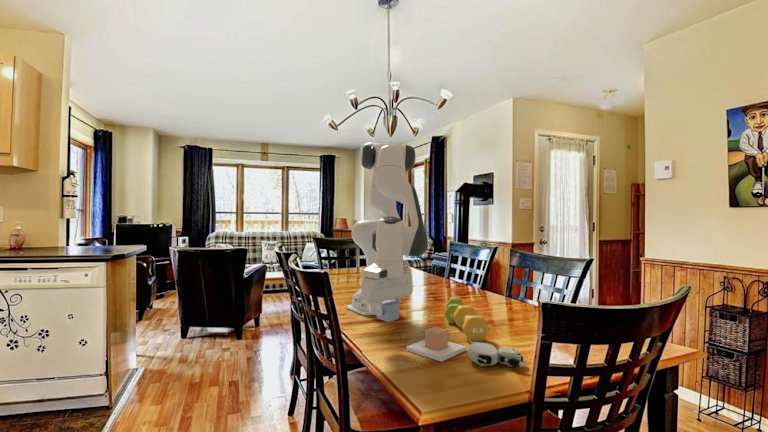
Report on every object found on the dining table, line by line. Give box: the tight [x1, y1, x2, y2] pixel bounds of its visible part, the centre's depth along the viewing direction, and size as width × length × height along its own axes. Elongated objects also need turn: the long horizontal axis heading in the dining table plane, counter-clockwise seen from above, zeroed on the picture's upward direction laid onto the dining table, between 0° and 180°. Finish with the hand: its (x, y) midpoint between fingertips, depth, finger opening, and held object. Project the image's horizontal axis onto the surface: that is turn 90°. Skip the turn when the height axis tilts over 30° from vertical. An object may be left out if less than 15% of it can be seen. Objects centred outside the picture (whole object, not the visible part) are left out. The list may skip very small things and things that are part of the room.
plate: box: [405, 339, 467, 363], centre depth 120 cm, size 13×13×1 cm
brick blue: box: [376, 300, 401, 323], centre depth 123 cm, size 5×5×5 cm
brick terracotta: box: [424, 326, 449, 350], centre depth 120 cm, size 5×5×5 cm
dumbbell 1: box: [443, 296, 465, 325], centre depth 157 cm, size 16×8×7 cm, turn 168°
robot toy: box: [467, 341, 526, 368], centre depth 110 cm, size 12×4×15 cm
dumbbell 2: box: [453, 304, 491, 343], centre depth 137 cm, size 19×9×8 cm, turn 1°
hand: (387, 313), depth 123 cm, fingers closed on brick blue, 5 cm apart
